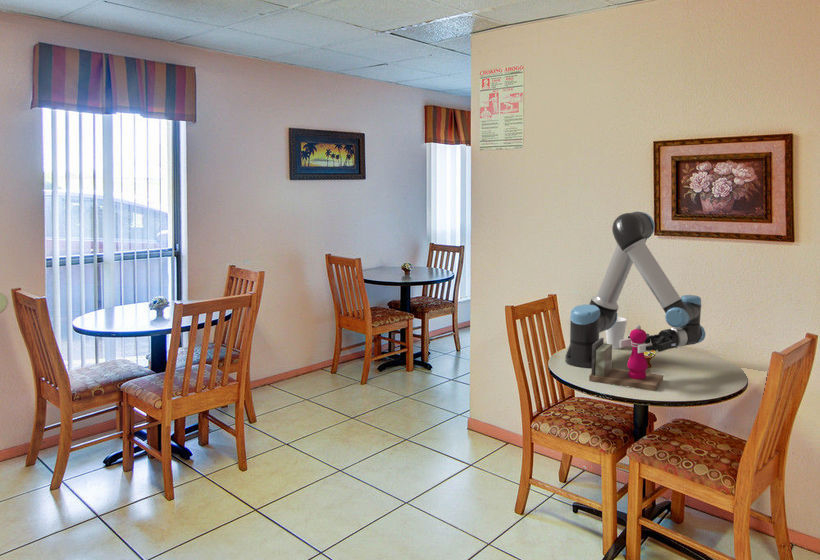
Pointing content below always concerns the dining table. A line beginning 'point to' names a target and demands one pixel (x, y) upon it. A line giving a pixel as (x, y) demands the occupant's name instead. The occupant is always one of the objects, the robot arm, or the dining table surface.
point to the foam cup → (616, 332)
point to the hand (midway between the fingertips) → (629, 346)
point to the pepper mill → (637, 355)
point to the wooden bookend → (617, 370)
